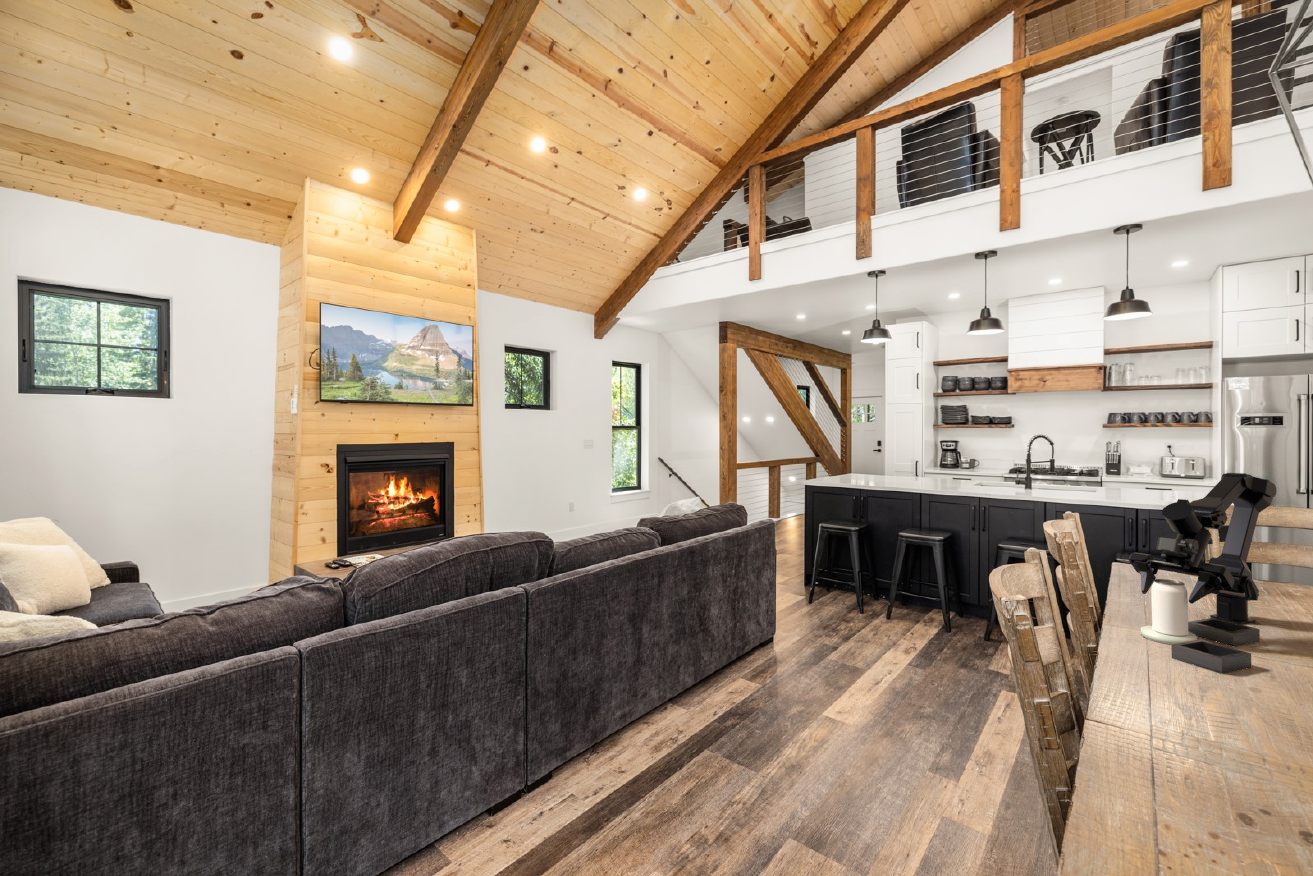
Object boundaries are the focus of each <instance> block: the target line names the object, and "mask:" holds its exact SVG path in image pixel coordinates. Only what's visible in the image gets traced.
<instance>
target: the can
mask: <svg viewBox="0 0 1313 876" xmlns="http://www.w3.org/2000/svg"><path fill="white" fill-rule="evenodd" d="M1153 581H1154V582H1153V584H1152V585H1151V587H1150V589H1151V590H1150V591H1151V592H1150V593H1151V596H1150V597H1151V625H1152V628H1153V629H1154V631H1156V632H1158V633H1160V634H1164V635H1169V636H1180V637H1181V636H1186V635H1187V634H1188V622H1189V597H1188V589H1187V588H1186V586H1185V583H1184V582H1183V581H1179V580H1174V579H1167V578H1166V579H1165V578H1156V579H1155V580H1153Z"/></svg>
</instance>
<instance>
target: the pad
mask: <svg viewBox="0 0 1313 876" xmlns="http://www.w3.org/2000/svg"><path fill="white" fill-rule="evenodd" d="M1140 636H1141V637H1142V636H1143V638H1144V637H1145V639H1146V640H1149V641H1152V642H1155V641H1156V642H1155V643H1159V642H1160V643H1159V644H1164V645H1168V646H1171V644H1176V643H1182V642H1187V641H1193V640H1198V637H1197V636H1196V635H1195V634H1193V633H1191V632H1188V634H1187V635H1186V636H1181V637H1180V636H1169V635H1164V634H1160V633H1158V632H1156V631H1154V629H1153V628H1152V624H1150V625H1144V626H1141V627H1140Z"/></svg>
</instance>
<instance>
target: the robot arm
mask: <svg viewBox="0 0 1313 876" xmlns="http://www.w3.org/2000/svg"><path fill="white" fill-rule="evenodd" d="M1276 495H1277V486H1276V484H1275V483H1274V482H1272V481H1270V479H1267V478H1260V477H1258V476H1257V477H1255V476H1253V475H1251V474H1248V473H1245V472H1243V473H1242V472H1226V473H1222V475H1221V477H1220V480H1219V481H1217V483H1216V485H1214V486H1213V487H1212V489H1211V490H1210V491H1209V492H1208V493H1207V494H1206V495H1205V496H1204V497H1202V498H1200V499H1195V500H1192V501H1191V502H1190V501H1189V499H1181V498H1178V499H1177V501H1176V502H1171V503H1170V504H1167V505H1166V506H1165V507H1163V508H1162V510H1161V513H1162V514H1161V515H1162V516H1163V517H1164V519H1165V520H1166V522H1167V524H1168V525H1169V527H1170V529H1171V530H1172V531H1173V532H1174V533H1176V534H1177V536H1176V538H1169V537H1168V538H1167V537H1161V536H1160V537H1158V539H1157V542H1156V543H1157V544H1156V546H1155V551H1158V552H1160V553H1161V555H1160V557H1161V558H1162V559H1163V560H1165V561H1161V560H1160V561H1159V560H1155V558H1154V557H1153V556H1152V554H1151V553H1150V554H1147V553H1143V552H1131V554H1130V555H1129V557H1128V559H1127V560H1128V562H1129V564H1130V565H1131V566H1132V568H1133V569H1134V570H1135V572H1136V573H1138V574H1139V575H1140V589H1141V593H1142V594H1143V595H1146V594H1147V593H1148V591H1149V590H1150V589H1151V586H1152V584H1153V583H1154V581H1153V580H1155V579H1157V577H1156V576H1155V575H1157V573H1158V571H1159V570H1161V571H1165V572H1172V573H1176V574H1181V575H1185V576H1186V575H1187V576H1192V577H1197V581H1196V582H1195V585H1194V587H1193V588H1192V591H1191V593H1190V595H1189V597H1188V604H1194V603H1195V602H1198V601H1199V600H1201V599H1202V598H1204V597H1206V596H1208V595H1211V594H1212V595H1213V594H1214V595H1216V602H1215V603H1216V608H1215V609H1216V613H1214V614H1209V618H1216V619H1220V620H1224V621H1228V622H1233V623H1237V624H1241V625H1244V624H1247V623H1248V624H1249V623H1255V622H1256V621H1257V620H1256V619H1255V618H1251V617H1249V603H1248V602H1250V601H1258V600H1259V599H1258V598H1259V596H1260V593H1259V592H1260V590H1259V588H1258V587H1257V585H1256V583H1255V582H1254V580H1253V574H1252V572H1251V570H1250V568H1249V566H1248V564H1247V560H1248V556H1249V552H1250V548H1251V545H1252V541H1253V537H1254V533H1255V530H1256V526H1257V522H1258V518H1259V514H1260V513H1261V512H1263V511H1265V510H1266V509H1267V508H1268V507H1270V506H1271V505H1272V502H1273V499H1274V498H1275V497H1276ZM1232 505H1233V506H1234V507H1233V510H1232V514H1231V517H1230V522H1229V525H1228V529H1227V532H1226V536H1225V539H1224V543H1223V547H1222V550H1221V554H1220V555H1219V556H1217V557H1213V556H1212V557H1210V558H1209V561H1208V562H1205V559H1206V558H1205V556H1204V554H1205V552H1206V550H1207V547H1208V545H1213V544H1214V541H1213V539H1212V533H1211V532H1210V530H1209V529H1212V530H1220V529H1221V528H1223V526H1224V525H1226V523H1227V521H1228V516H1227V510H1228V509H1229V508H1230V507H1231V506H1232ZM1200 562H1201V563H1203V564H1202V567H1199V564H1200ZM1204 562H1205V563H1204Z"/></svg>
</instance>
